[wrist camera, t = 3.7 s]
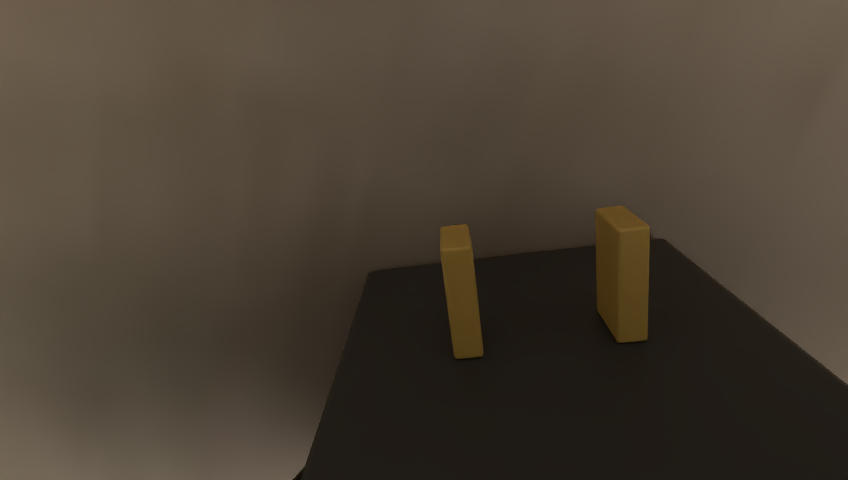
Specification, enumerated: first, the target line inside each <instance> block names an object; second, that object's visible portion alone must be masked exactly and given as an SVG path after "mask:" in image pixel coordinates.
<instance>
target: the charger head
mask: <svg viewBox="0 0 848 480" xmlns="http://www.w3.org/2000/svg"><path fill="white" fill-rule="evenodd" d="M595 220H596V246H590V247H582V248H573V249H564V250H555V251H546V252H537V253H528V254H520V255H511V256H502V257H493V258H484V259H475V260H474V258H473V249H472V243H471V238H470V232H469V227H468V225H466V224H461V225H453V226H444V227H441V229H440V255H441V262H442V263H440V264H431V265H422V266H413V267H404V268H395V269H387V270H378V271H371V272H370V273H368V276H367V279H366V282H365V285H364V288H363V291H362V294H361V297H360V300H359V303H358V306H357V309H356V312H355V316H354V319H353V322H352V325H351V328H350V331H349V334H348V337H347V340H346V343H345V346H344V349H343V352H342V355H341V358H340V361H339V364H338V367H337V370H336V373H335V376H334V379H333V382H332V386H331V389H330V392H329V395H328V398H327V401H326V404H325V407H324V410H323V413H322V416H321V419H320V422H319V425H318V428H317V431H316V434H315V437H314V440H313V443H312V446H311V449H310V452H309V456H308V459H307V462H306V465H305V468H304V471H303V474H302V477H301V480H848V385H847V384H846V383H844V382H843V381H842V380H841V379H839V378H838V377H837V376H835V375H834V374H833V373H832V372H830V371H829V370H828V369H827V368H825V367H824V366H823V365H822V364H820V363H819V362H818V361H817V360H815V359H814V358H813V357H812V356H810V355H809V354H808V353H807V352H805V351H804V350H803V349H802V348H800V347H799V346H798V345H797V344H795V343H794V342H793V341H791V340H790V339H789V338H788V337H786V336H785V335H784V334H783V333H781V332H780V331H779V330H778V329H776V328H775V327H774V326H773V325H771V324H770V323H769V322H768V321H766V320H765V319H764V318H763V317H761V316H760V315H759V314H758V313H756V312H755V311H754V310H752V309H751V308H750V307H749V306H747V305H746V304H745V303H744V302H742V301H741V300H740V299H739V298H737V297H736V296H735V295H734V294H732V293H731V292H730V291H729V290H727V289H726V288H725V287H724V286H722V285H721V284H720V283H719V282H717V281H716V280H715V279H714V278H712V277H711V276H710V275H708V274H707V273H706V272H705V271H703V270H702V269H701V268H700V267H698V266H697V265H696V264H695V263H693V262H692V261H691V260H690V259H688V258H687V257H686V256H685V255H683V254H682V253H681V252H680V251H678V250H677V249H676V248H675V247H673V246H672V245H671V244H669V243H668V242H667V241H666V240H664V239H653V240H650V227H649V225H647V224H646V223H645V222H643V221H642V220H641V219H640V218H638V217H637V216H636V215H635V214H633V213H632V212H631V211H630V210H628V209H627V208H626V207H624V206H614V207H605V208H598V209H596V212H595Z"/></svg>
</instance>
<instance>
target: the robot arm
mask: <svg viewBox="0 0 848 480" xmlns="http://www.w3.org/2000/svg"><path fill="white" fill-rule="evenodd" d="M304 468H305V466H304ZM304 468H303V469H302V470H301V471H300V472H299V473H298V474H297V475H296V477H295V478H294V479H293V480H301V477H302V474H303V471H304Z"/></svg>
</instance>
